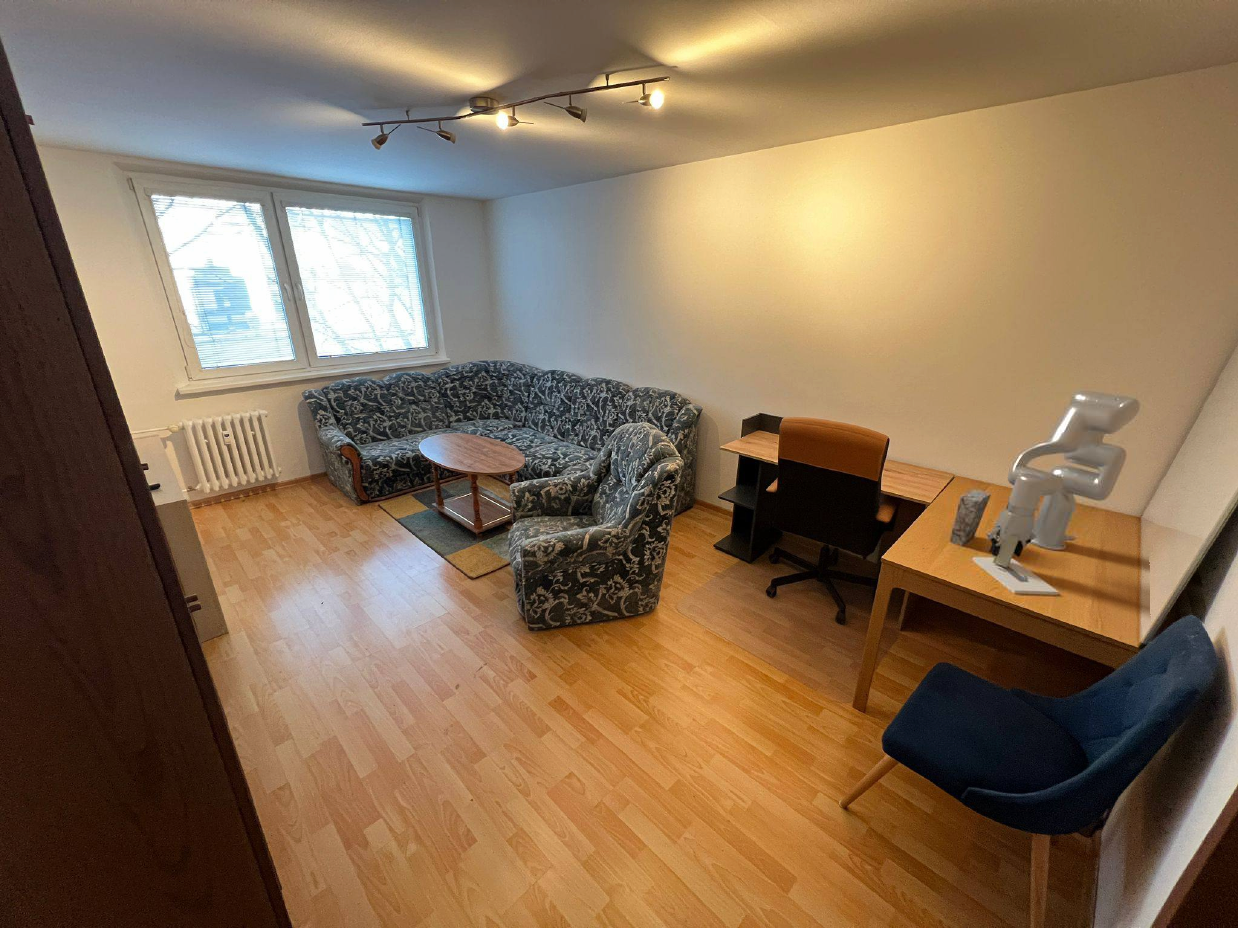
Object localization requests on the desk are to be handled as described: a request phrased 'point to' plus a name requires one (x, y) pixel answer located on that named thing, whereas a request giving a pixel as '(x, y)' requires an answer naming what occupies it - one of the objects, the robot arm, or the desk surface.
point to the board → (1016, 577)
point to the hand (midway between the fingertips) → (1004, 554)
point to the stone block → (969, 516)
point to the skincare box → (1006, 551)
